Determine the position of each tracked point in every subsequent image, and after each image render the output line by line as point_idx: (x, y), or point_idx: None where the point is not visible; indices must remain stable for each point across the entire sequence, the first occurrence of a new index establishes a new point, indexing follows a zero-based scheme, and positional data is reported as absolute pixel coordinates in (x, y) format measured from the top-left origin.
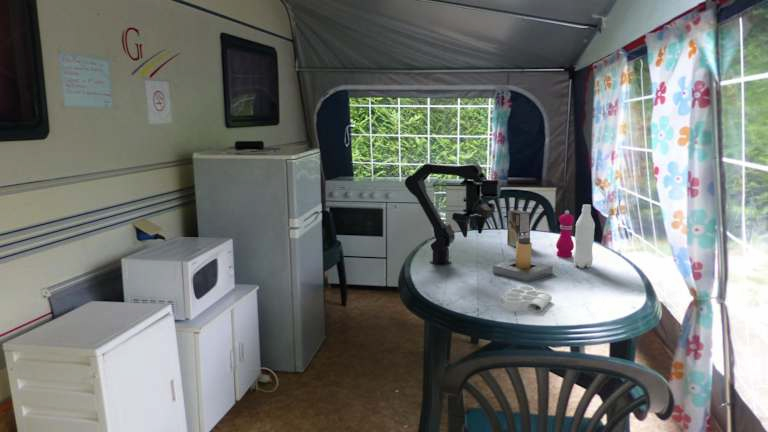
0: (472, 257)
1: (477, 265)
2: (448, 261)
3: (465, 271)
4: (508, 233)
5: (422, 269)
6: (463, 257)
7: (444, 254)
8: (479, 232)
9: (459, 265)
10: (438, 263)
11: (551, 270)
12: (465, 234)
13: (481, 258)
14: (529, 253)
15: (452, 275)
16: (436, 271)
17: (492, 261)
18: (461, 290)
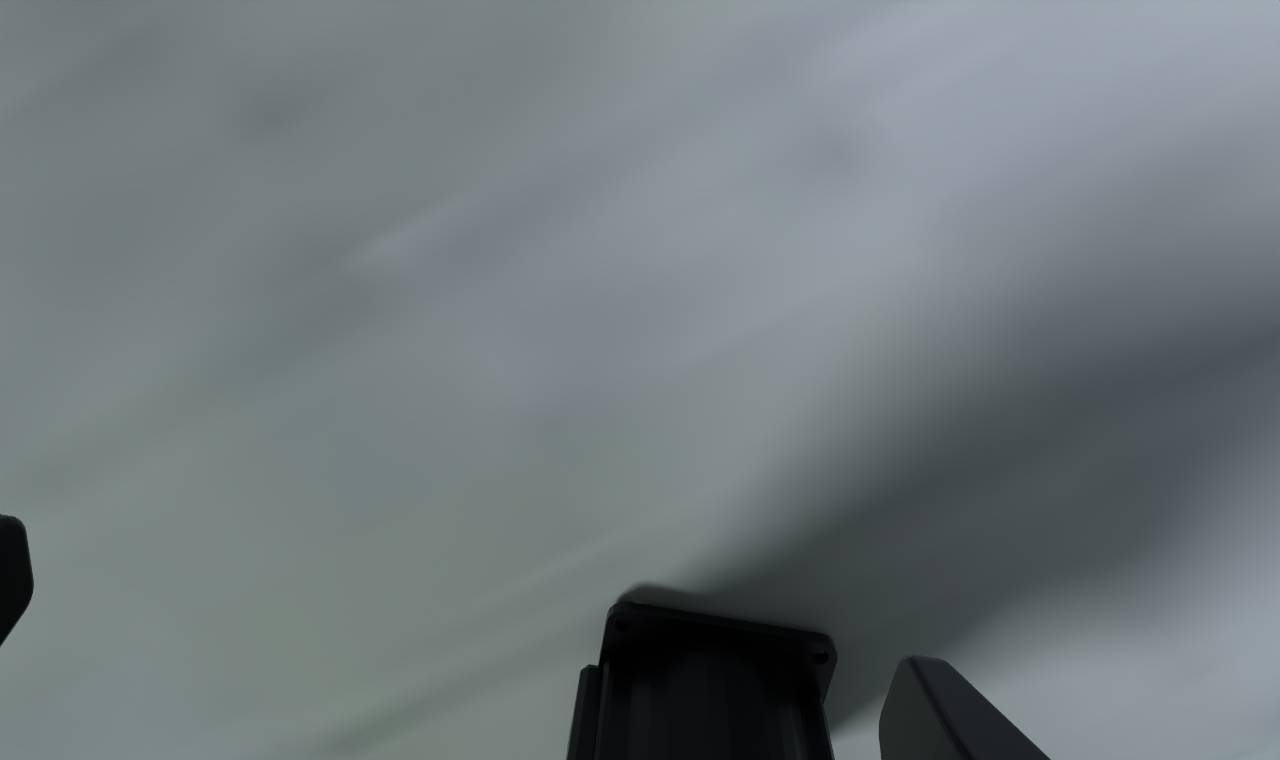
0: (148, 505)
1: (464, 237)
2: (638, 640)
3: (897, 227)
4: None
5: (1120, 728)
6: (251, 598)
7: (760, 746)
8: (8, 580)
9: (650, 456)
10: (817, 691)
11: None
12: (1015, 752)
13: (81, 377)
14: None
15: (1217, 284)
16: (1122, 559)
17: (74, 148)
18: None
